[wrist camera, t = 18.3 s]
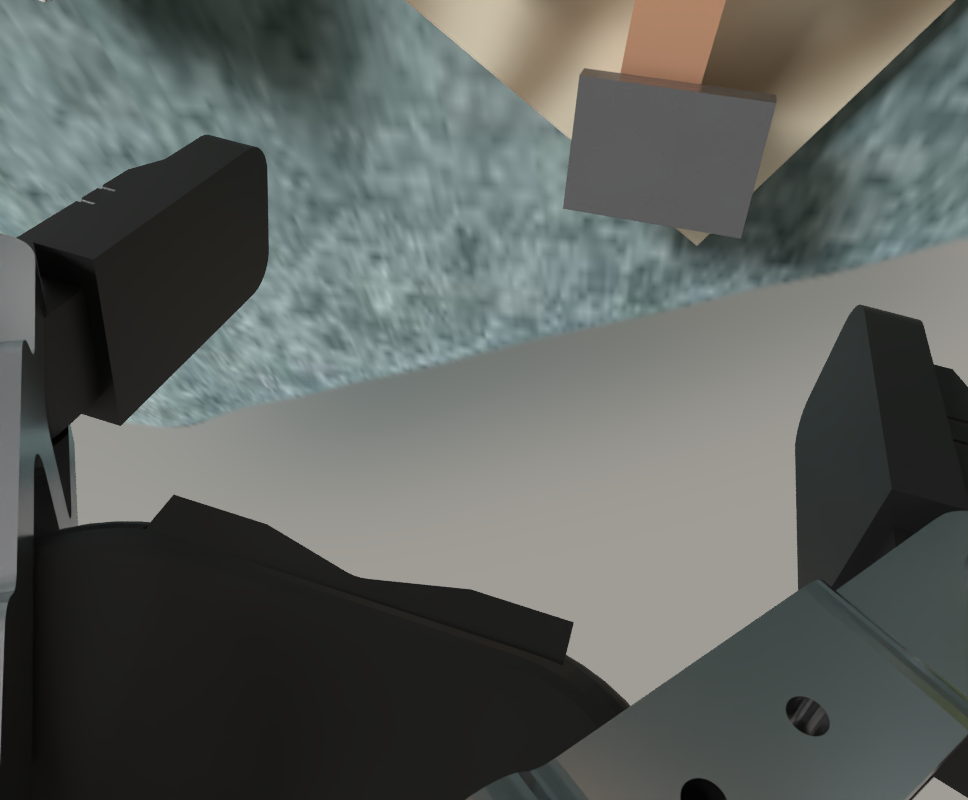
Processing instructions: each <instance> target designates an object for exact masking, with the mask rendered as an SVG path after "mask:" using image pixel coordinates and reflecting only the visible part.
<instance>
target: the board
mask: <svg viewBox="0 0 968 800" xmlns="http://www.w3.org/2000/svg"><path fill="white" fill-rule="evenodd" d="M405 1H406V2H408V3H409V4H410V5H411V6H412V7H414V8H415V9H416V10H417V11H418V12H420V13H421V14H422V15H423V16H424V17H425V18H427V19H428V20H429V21H430V22H431V23H433V24H434V25H435V26H436V27H437V28H439V29H440V30H441V31H442V32H443V33H444V34H446V35H447V36H448V37H449V38H450V39H452V40H453V41H454V42H455V43H456V44H458V45H459V46H460V47H461V48H462V49H463V50H465V51H466V52H467V53H468V54H469V55H471V56H472V57H473V58H474V59H475V60H477V61H478V62H479V63H480V64H481V65H482V66H484V67H485V68H486V69H487V70H488V71H490V72H491V73H492V74H493V75H494V76H496V77H497V78H498V79H499V80H500V81H501V82H503V83H504V84H505V85H506V86H507V87H509V88H510V89H511V90H512V91H513V92H515V93H516V94H517V95H518V96H519V97H521V98H522V99H523V100H524V101H525V102H526V103H528V104H529V105H530V106H531V107H532V108H534V109H535V110H536V111H537V112H538V113H540V114H541V115H542V116H543V117H544V118H545V119H547V120H548V121H549V122H550V123H551V124H553V125H554V126H555V127H556V128H557V129H559V130H560V131H561V132H562V133H563V134H564V135H566V136H567V137H568V138H569V139H570V140H572V132H573V124H574V115H575V107H576V99H577V91H578V82H579V75H580V74H581V72H582V71H583V69H584V68H587V69H594V70H602V71H609V72H616V73H620V72H621V67H622V62H623V57H624V52H625V47H626V42H627V37H628V32H629V27H630V22H631V17H632V12H633V7H634V2H635V0H405ZM954 1H955V0H726V2H725V5H724V9H723V12H722V15H721V19H720V22H719V26H718V29H717V32H716V36H715V39H714V42H713V46H712V49H711V52H710V56H709V59H708V62H707V66H706V69H705V73H704V76H703V79H702V83H701V84H703V85H710V86H717V87H724V88H731V89H739V90H746V91H753V92H760V93H768V94H775V95H777V101H776V107H775V111H774V114H773V118H772V122H771V126H770V130H769V134H768V137H767V141H766V145H765V149H764V153H763V156H762V160H761V164H760V168H759V172H758V175H757V179H756V183H755V187H754V191H755V190H756V189H757V188H758V187H759V186H761V185H762V184H763V183H764V182H765V181H766V180H767V179H768V178H769V177H770V176H771V175H772V174H773V173H774V172H775V171H776V170H777V169H778V168H779V167H781V166H782V165H783V164H784V163H785V162H786V161H787V160H788V159H789V158H790V157H791V156H792V155H793V154H794V153H795V152H796V151H797V150H798V149H799V148H801V147H802V146H803V145H804V144H805V143H806V142H807V141H808V140H809V139H810V138H811V137H812V136H813V135H814V134H815V133H816V132H817V131H818V130H819V129H820V128H822V127H823V126H824V125H825V124H826V123H827V122H828V121H829V120H830V119H831V118H832V117H833V116H834V115H835V114H836V113H837V112H838V111H839V110H840V109H842V108H843V107H844V106H845V105H846V104H847V103H848V102H849V101H850V100H851V99H852V98H853V97H854V96H855V95H856V94H857V93H858V92H859V91H860V90H862V89H863V88H864V87H865V86H866V85H867V84H868V83H869V82H870V81H871V80H872V79H873V78H874V77H875V76H876V75H877V74H878V73H879V72H880V71H882V70H883V69H884V68H885V67H886V66H887V65H888V64H889V63H890V62H891V61H892V60H893V59H894V58H895V57H896V56H897V55H898V54H899V53H900V52H902V51H903V50H904V49H905V48H906V47H907V46H908V45H909V44H910V43H911V42H912V41H913V40H914V39H915V38H916V37H917V36H918V35H919V34H920V33H922V32H923V31H924V30H925V29H926V28H927V27H928V26H929V25H930V24H931V23H932V22H933V21H934V20H935V19H936V18H937V17H938V16H939V15H940V14H942V13H943V12H944V11H945V10H946V9H947V8H948V7H949V6H950V5H951V4H952V3H953V2H954ZM754 191H753V192H754ZM676 229H677V230H678V231H680V232H681V233H682V234H683V235H684V236H686V237H687V238H688V239H689V240H690V241H692V242H693V243H694V244H695V245H696V246H697V245H698V244H699V243H701V242H702V241H703V240H704V239H705V238H706V237H707V236H708V235H709V234H710V233H704V232H698V231H692V230H687V229H681V228H676Z"/></svg>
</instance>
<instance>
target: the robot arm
mask: <svg viewBox="0 0 968 800" xmlns="http://www.w3.org/2000/svg"><path fill="white" fill-rule="evenodd" d="M268 254H269V240H268V184H267V163H266V159H265V156H264V154H263V152H262V151H261V149H259V148H257V147H254V146H250V145H246V144H242V143H238V142H234V141H230V140H226V139H223V138H219V137H215V136H211V135H203V136H201V137H199V138H198V139H196V140H195V141H193V142H191V143H190V144H188V145H187V146H185V147H184V148H182V149H180V150H179V151H177V152H176V153H174V154H172V155H171V156H169V157H168V158H166V159H165V160H161V161H157V162H153V163H150V164H146V165H143V166H139V167H136V168H132V169H128V170H127V171H125V172H123V173H122V174H120V175H118V176H117V177H115V178H114V179H112V180H110V181H109V182H107V183H105V184H104V185H103V188H102V189H99V188H97V189H96V190H94V191H92V192H91V193H89V194H87V195H86V196H84V197H82V201H81V202H78V201H76V202H74V203H73V204H71V205H69V206H68V207H66V208H64V209H63V210H61V211H60V212H58V213H56V214H55V215H53V216H51V217H50V218H48V219H46V220H45V221H43V222H42V223H40V224H38V225H37V226H35V227H33V228H32V229H30V230H28V231H27V232H25V233H24V234H22V235H20V236H19V237H17V238H14V237H12V236H8V235H4V234H0V800H913V799H914V798H915V797H916V796H917V795H918V794H919V792H920V791H921V790H922V789H923V788H924V787H925V786H926V785H927V784H928V783H929V782H930V781H931V780H932V779H933V778H934V777H935V778H937V779H938V780H940V781H942V782H943V783H945V784H946V785H948V786H950V787H951V788H953V789H954V790H956V791H958V792H959V793H961V794H962V795H964V796H966V797H967V798H968V387H967V386H966V385H965V383H964V382H963V381H962V380H961V379H960V378H959V376H958V375H957V374H956V373H955V372H954V371H953V369H949V368H945V367H941V366H938V365H934V364H933V361H932V357H931V353H930V349H929V345H928V341H927V337H926V334H925V329H924V326H923V323H922V321H920V320H918V319H913V318H910V317H906V316H902V315H898V314H895V313H891V312H887V311H882V310H879V309H875V308H871V307H867V306H863V305H858V306H856V307H855V308H854V309H853V311H852V312H851V314H850V315H849V317H848V319H847V320H846V322H845V324H844V326H843V328H842V330H841V332H840V334H839V336H838V339H837V341H836V343H835V345H834V347H833V349H832V351H831V353H830V355H829V357H828V359H827V361H826V363H825V365H824V367H823V370H822V372H821V374H820V376H819V378H818V380H817V382H816V384H815V386H814V388H813V390H812V392H811V394H810V396H809V398H808V401H807V403H806V405H805V408H804V410H803V413H802V416H801V419H800V423H799V427H798V431H797V437H796V443H795V456H796V457H795V459H796V460H795V461H796V508H797V554H798V591H797V592H796V593H794V594H793V595H791V596H790V597H788V598H787V599H785V600H784V601H782V602H781V603H780V604H778V605H777V606H775V607H774V608H772V609H771V610H769V611H768V612H766V613H765V614H764V615H762V616H761V617H759V618H758V619H756V620H755V621H753V622H752V623H751V624H749V625H748V626H746V627H745V628H743V629H742V630H740V631H739V632H737V633H736V634H735V635H733V636H732V637H730V638H729V639H727V640H726V641H724V642H723V643H721V644H720V645H719V646H717V647H716V648H714V649H713V650H711V651H710V652H709V653H707V654H706V655H704V656H703V657H701V658H700V659H698V660H697V661H695V662H694V663H692V664H691V665H690V666H688V667H687V668H685V669H684V670H682V671H681V672H680V673H678V674H677V675H675V676H674V677H673V678H671V679H669V680H668V681H667V682H665V683H663V684H662V685H661V686H659V687H658V688H656V689H655V690H653V691H652V692H650V693H649V694H648V695H646V696H645V697H643V698H642V699H641V700H639V701H638V702H636V703H634V704H633V705H632V706H630V705H629V704H628V703H627V702H626V700H625V699H623V698H622V697H621V696H620V695H619V694H618V693H617V692H616V691H615V690H614V689H613V688H611V687H610V686H609V685H608V684H607V683H606V682H605V681H604V680H602V679H601V678H600V677H598V676H597V675H595V674H594V673H593V672H592V671H590V670H589V669H587V668H586V667H585V666H583V665H582V664H580V663H578V662H577V661H575V660H574V659H572V658H570V657H568V656H567V655H566V652H567V647H568V643H569V639H570V635H571V631H572V627H573V622H571V621H568V620H564V619H561V618H558V617H555V616H552V615H549V614H546V613H542V612H539V611H536V610H533V609H530V608H527V607H524V606H520V605H517V604H514V603H511V602H508V601H505V600H502V599H499V598H495V597H492V596H489V595H486V594H483V593H480V592H477V591H474V590H469V589H460V588H451V587H440V586H431V585H421V584H411V583H402V582H392V581H382V580H372V579H365V578H360V577H357V576H353V575H351V574H349V573H347V572H345V571H344V570H342V569H340V568H339V567H337V566H335V565H334V564H332V563H330V562H329V561H327V560H325V559H324V558H322V557H320V556H319V555H317V554H315V553H313V552H312V551H310V550H309V549H307V548H305V547H303V546H302V545H300V544H299V543H297V542H295V541H294V540H292V539H290V538H289V537H287V536H285V535H284V534H282V533H280V532H279V531H277V530H275V529H274V528H272V527H270V526H269V525H267V524H264V523H261V522H257V521H254V520H251V519H248V518H245V517H242V516H239V515H236V514H233V513H229V512H226V511H223V510H220V509H217V508H214V507H211V506H207V505H204V504H201V503H198V502H195V501H192V500H189V499H185V498H182V497H179V496H176V495H173V496H172V497H171V499H170V500H169V501H168V502H167V503H166V505H165V506H164V507H163V508H162V509H161V511H160V512H159V513H158V514H157V515H156V516H155V518H154V519H153V520H152V521H151V522H105V523H93V524H85V525H80V526H78V520H77V519H78V517H77V495H76V472H75V448H74V440H73V435H72V430H71V426H70V424H71V423H72V422H73V421H74V420H75V419H76V418H77V417H78V416H79V415H80V414H84V415H87V416H90V417H94V418H97V419H100V420H103V421H106V422H110V423H113V424H116V425H119V426H121V425H122V424H123V423H124V422H125V421H126V420H127V419H128V418H129V417H130V416H131V415H132V414H133V413H134V412H135V411H136V410H137V409H138V408H139V407H140V406H141V405H142V404H143V403H144V402H145V401H146V400H147V399H148V398H149V397H150V396H151V395H152V394H153V393H154V392H155V391H156V390H157V389H158V388H159V387H160V386H161V385H162V384H163V383H164V382H165V381H166V380H167V379H168V378H169V377H170V376H171V375H172V374H173V373H174V372H175V371H176V370H177V369H178V368H179V367H180V366H181V365H182V364H184V363H185V362H186V361H187V360H188V359H189V358H190V357H191V356H192V355H193V354H194V353H195V352H196V351H197V350H198V349H199V348H200V347H201V346H202V345H203V344H204V343H205V342H206V341H207V340H208V339H209V338H210V337H211V336H212V335H213V334H214V333H215V332H216V331H217V330H218V329H219V328H220V327H221V326H222V325H223V324H224V323H225V322H226V321H227V320H228V319H229V318H230V317H231V316H232V315H233V314H234V313H235V312H236V311H237V310H238V309H239V308H240V307H241V306H242V305H243V304H244V303H245V302H246V301H247V300H248V299H249V298H250V297H251V296H252V295H253V294H254V293H255V292H256V290H257V289H258V287H259V286H260V284H261V282H262V279H263V277H264V274H265V271H266V267H267V262H268Z"/></svg>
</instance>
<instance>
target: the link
mask: <svg viewBox="0 0 968 800" xmlns="http://www.w3.org/2000/svg"><path fill="white" fill-rule="evenodd" d="M725 2H726V0H635V2H634V7H633V12H632V17H631V22H630V27H629V32H628V37H627V42H626V47H625V52H624V57H623V62H622V67H621V72H620V73H623V74H630V75H638V76H645V77H652V78H659V79H667V80H674V81H681V82H688V83H695V84H701V83H702V79H703V76H704V73H705V69H706V66H707V62H708V59H709V56H710V52H711V49H712V46H713V42H714V39H715V36H716V32H717V29H718V26H719V22H720V19H721V15H722V12H723V9H724V5H725Z"/></svg>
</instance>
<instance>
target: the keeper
mask: <svg viewBox="0 0 968 800" xmlns="http://www.w3.org/2000/svg"><path fill="white" fill-rule="evenodd" d="M776 101H777V95H775V94H768V93H760V92H753V91H746V90H739V89H731V88H724V87H717V86H710V85H703V84H695V83H688V82H681V81H674V80H667V79H659V78H652V77H645V76H638V75H630V74H623V73H616V72H609V71H602V70H594V69H587V68H584V69H583V71H582V72H581V74H580V75H579V82H578V91H577V99H576V107H575V115H574V124H573V132H572V140H571V149H570V157H569V165H568V173H567V182H566V190H565V198H564V206H563V209H569V210H575V211H581V212H586V213H592V214H598V215H604V216H610V217H616V218H622V219H628V220H634V221H639V222H645V223H651V224H657V225H663V226H669V227H675V228H681V229H687V230H692V231H698V232H704V233H710V234H716V235H722V236H728V237H734V238H740V239H741V236H742V233H743V229H744V225H745V221H746V217H747V214H748V210H749V206H750V202H751V198H752V195H753V191H754V187H755V183H756V179H757V175H758V172H759V168H760V164H761V160H762V156H763V153H764V149H765V145H766V141H767V137H768V134H769V130H770V126H771V122H772V118H773V114H774V111H775V107H776Z"/></svg>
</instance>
